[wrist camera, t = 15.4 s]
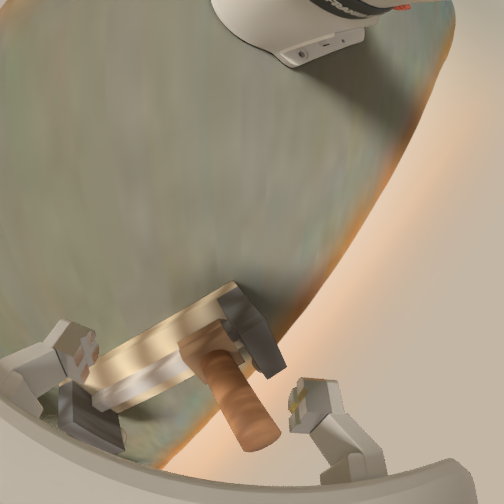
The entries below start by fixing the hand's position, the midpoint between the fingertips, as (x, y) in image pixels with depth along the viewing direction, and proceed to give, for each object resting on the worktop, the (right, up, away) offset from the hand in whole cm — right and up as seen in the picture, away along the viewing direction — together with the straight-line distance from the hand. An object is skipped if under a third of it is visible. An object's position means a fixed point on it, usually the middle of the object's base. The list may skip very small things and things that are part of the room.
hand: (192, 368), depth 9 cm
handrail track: (-11, -10, +24) cm, 28 cm away
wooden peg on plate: (-4, -7, +24) cm, 26 cm away
